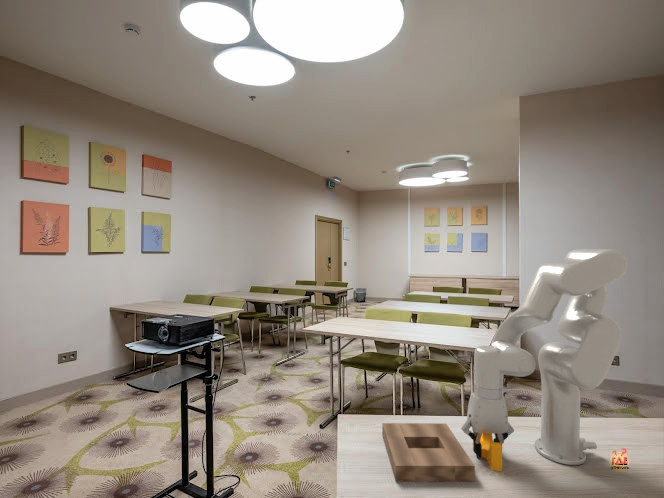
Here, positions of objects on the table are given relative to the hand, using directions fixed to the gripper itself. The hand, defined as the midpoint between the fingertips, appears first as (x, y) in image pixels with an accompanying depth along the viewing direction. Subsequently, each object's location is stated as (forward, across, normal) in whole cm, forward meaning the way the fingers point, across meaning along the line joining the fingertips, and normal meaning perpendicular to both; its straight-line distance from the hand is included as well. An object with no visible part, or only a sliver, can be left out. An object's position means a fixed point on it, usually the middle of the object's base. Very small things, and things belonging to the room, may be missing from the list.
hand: (487, 454), depth 103 cm
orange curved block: (+1, 0, 0) cm, 1 cm away
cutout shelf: (0, +18, 0) cm, 18 cm away
